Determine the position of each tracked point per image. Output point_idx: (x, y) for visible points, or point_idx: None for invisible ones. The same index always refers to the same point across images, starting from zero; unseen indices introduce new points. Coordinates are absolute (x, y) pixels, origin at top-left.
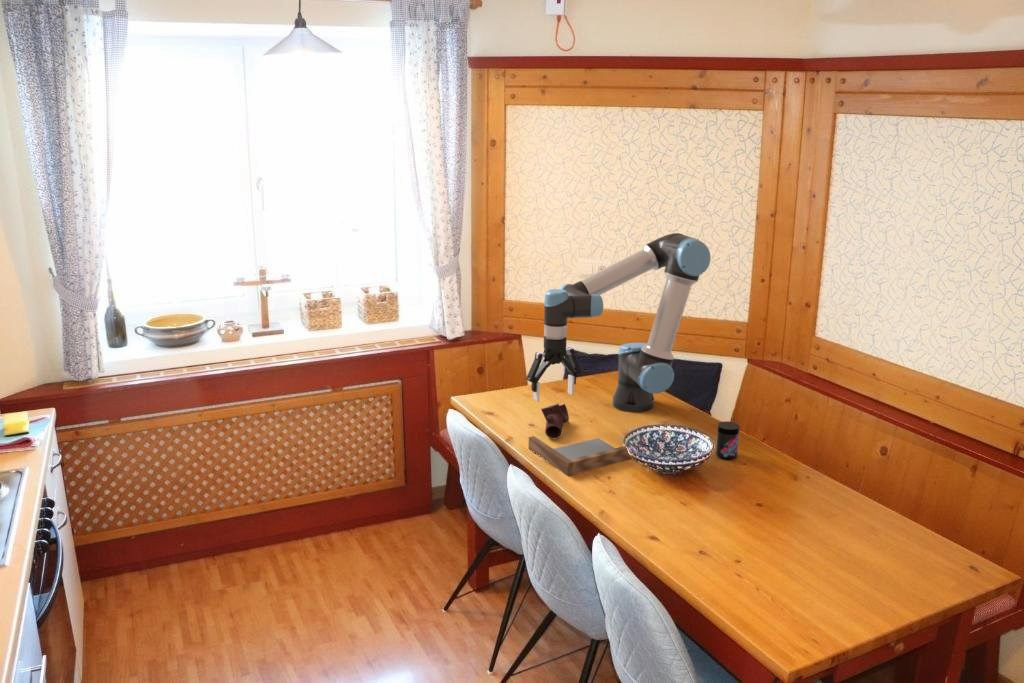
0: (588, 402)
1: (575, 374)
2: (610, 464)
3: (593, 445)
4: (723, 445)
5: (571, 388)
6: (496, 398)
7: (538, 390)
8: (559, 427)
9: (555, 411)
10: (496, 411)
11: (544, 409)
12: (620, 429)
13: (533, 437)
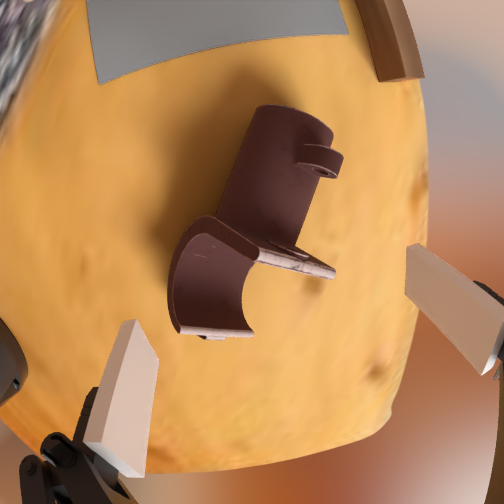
0: (87, 394)
1: (68, 458)
2: None
3: (149, 16)
4: None
5: (129, 360)
6: (316, 436)
7: (466, 282)
8: (276, 105)
9: (262, 239)
10: (356, 382)
11: (320, 264)
12: (8, 170)
13: (411, 65)
